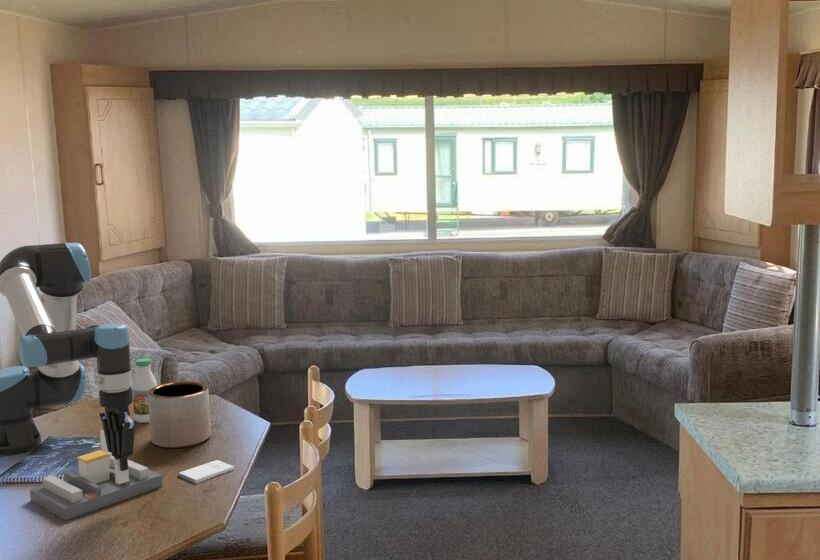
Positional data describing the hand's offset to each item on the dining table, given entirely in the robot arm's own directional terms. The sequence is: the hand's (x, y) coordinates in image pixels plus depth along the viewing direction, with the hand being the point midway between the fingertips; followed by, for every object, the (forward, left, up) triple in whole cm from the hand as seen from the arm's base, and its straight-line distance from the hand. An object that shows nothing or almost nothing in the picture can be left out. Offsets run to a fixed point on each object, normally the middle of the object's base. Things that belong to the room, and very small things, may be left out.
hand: (122, 481), depth 202 cm
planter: (-30, +37, -7) cm, 48 cm away
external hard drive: (-2, +26, -7) cm, 27 cm away
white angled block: (-30, +15, -7) cm, 34 cm away
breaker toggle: (-13, 0, -3) cm, 14 cm away
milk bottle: (-55, +41, -7) cm, 69 cm away
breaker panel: (-12, 0, -6) cm, 14 cm away
